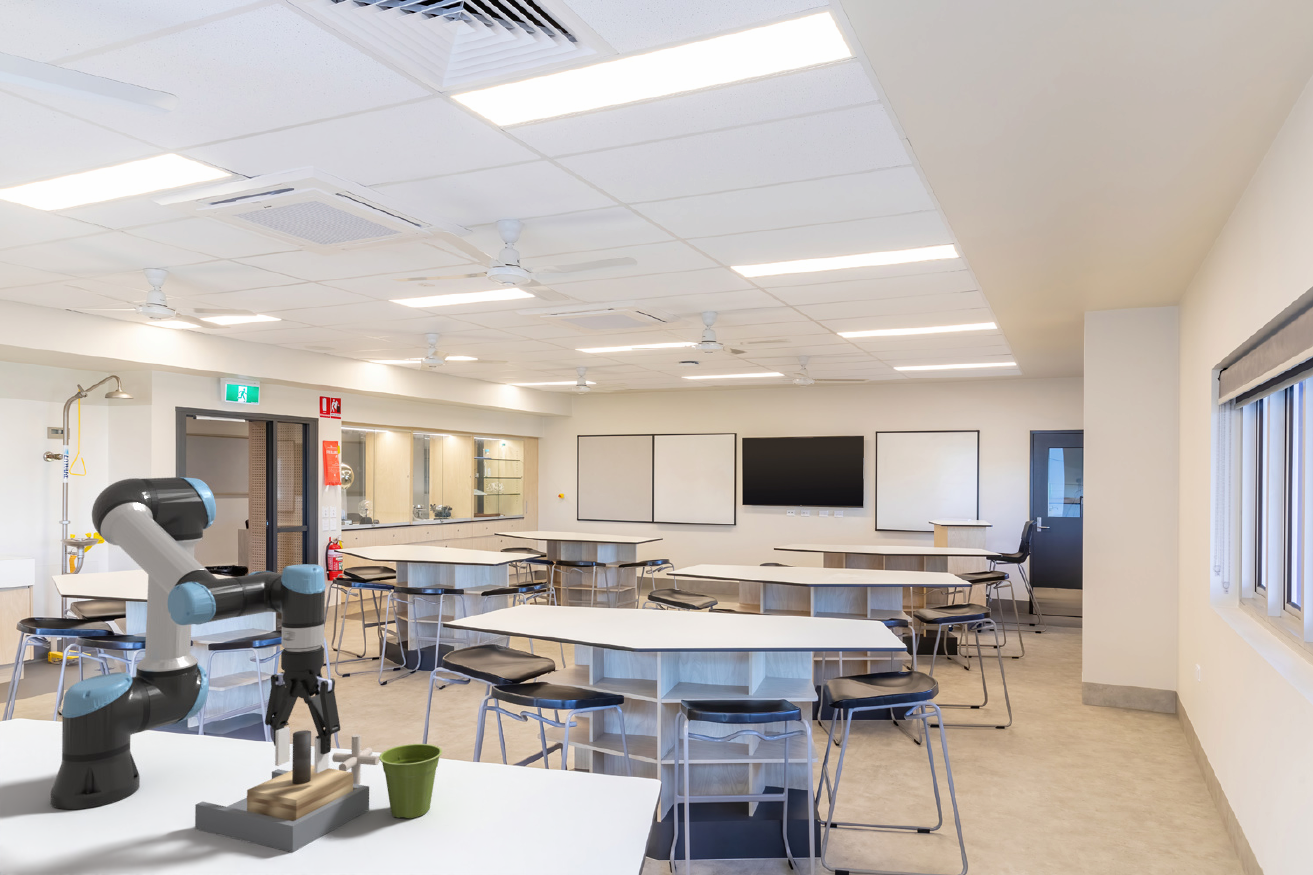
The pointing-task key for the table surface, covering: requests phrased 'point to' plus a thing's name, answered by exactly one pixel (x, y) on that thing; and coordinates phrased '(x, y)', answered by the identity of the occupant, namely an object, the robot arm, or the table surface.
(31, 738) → the table surface
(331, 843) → the table surface
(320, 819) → the bay
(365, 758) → the pipe connector
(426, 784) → the plant pot
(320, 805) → the wooden block with peg
